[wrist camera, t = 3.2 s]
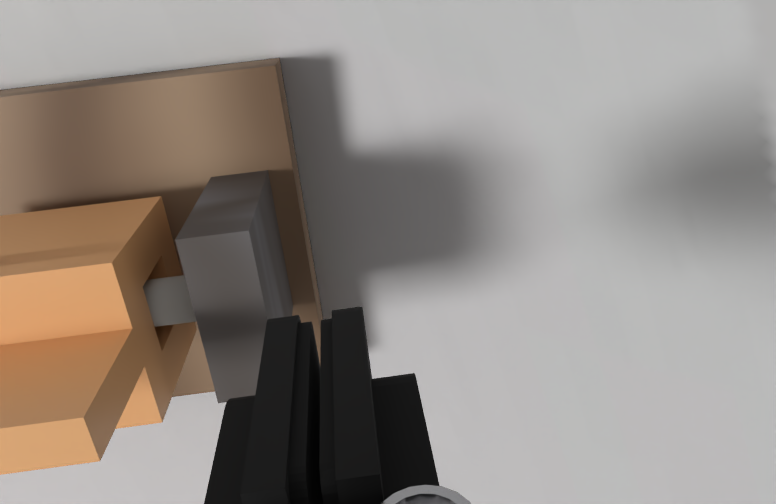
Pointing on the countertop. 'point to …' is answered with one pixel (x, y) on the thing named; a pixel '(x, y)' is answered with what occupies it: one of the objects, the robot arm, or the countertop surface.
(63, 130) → the wooden slider rail
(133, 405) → the orange sliding block
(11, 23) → the countertop surface
